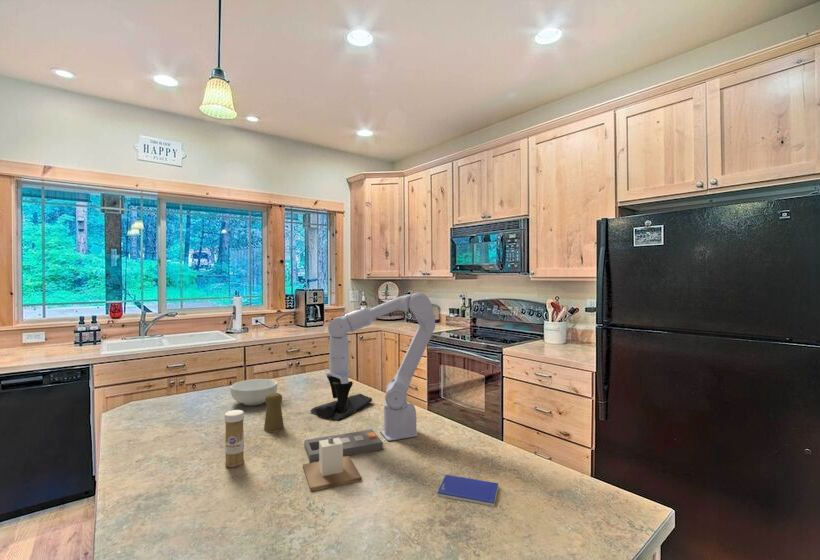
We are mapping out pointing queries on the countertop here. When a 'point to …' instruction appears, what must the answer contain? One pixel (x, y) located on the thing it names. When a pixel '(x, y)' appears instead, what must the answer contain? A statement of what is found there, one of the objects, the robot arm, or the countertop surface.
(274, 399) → the cork
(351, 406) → the dark slate chunk
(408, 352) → the robot arm
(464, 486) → the hard drive
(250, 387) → the cereal bowl
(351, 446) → the power strip
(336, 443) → the block
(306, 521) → the countertop surface
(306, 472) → the coaster
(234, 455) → the sprinkles bottle
